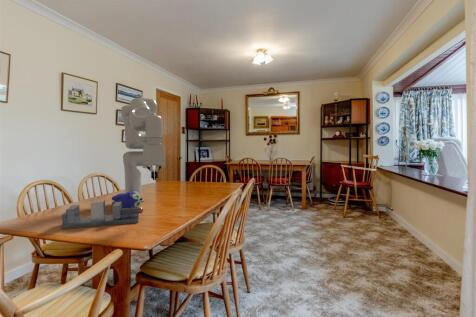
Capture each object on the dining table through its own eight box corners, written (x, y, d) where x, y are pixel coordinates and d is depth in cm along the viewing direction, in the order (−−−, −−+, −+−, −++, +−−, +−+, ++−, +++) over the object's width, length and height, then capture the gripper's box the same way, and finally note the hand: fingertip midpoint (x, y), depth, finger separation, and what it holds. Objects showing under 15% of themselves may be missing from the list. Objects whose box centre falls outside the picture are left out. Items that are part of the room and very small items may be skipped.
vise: (69, 222, 122) (68, 205, 121) (138, 217, 131) (138, 201, 130) (62, 229, 112) (61, 210, 112) (137, 222, 121) (137, 205, 121)
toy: (146, 204, 156) (142, 209, 141) (116, 210, 152) (109, 216, 138) (143, 187, 155) (139, 190, 141) (113, 193, 152) (105, 197, 137)
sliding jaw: (115, 214, 127) (115, 202, 127) (143, 212, 131) (143, 200, 131) (112, 219, 118) (112, 206, 118) (142, 217, 122) (142, 204, 122)
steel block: (93, 217, 122) (93, 200, 122) (105, 216, 124) (105, 199, 124) (91, 220, 118) (90, 202, 117) (103, 219, 119) (103, 201, 119)
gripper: (136, 141, 121) (137, 181, 121) (170, 141, 125) (171, 180, 126) (137, 141, 128) (138, 179, 129) (169, 141, 132) (170, 178, 133)
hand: (154, 179), depth 127 cm, fingers closed
